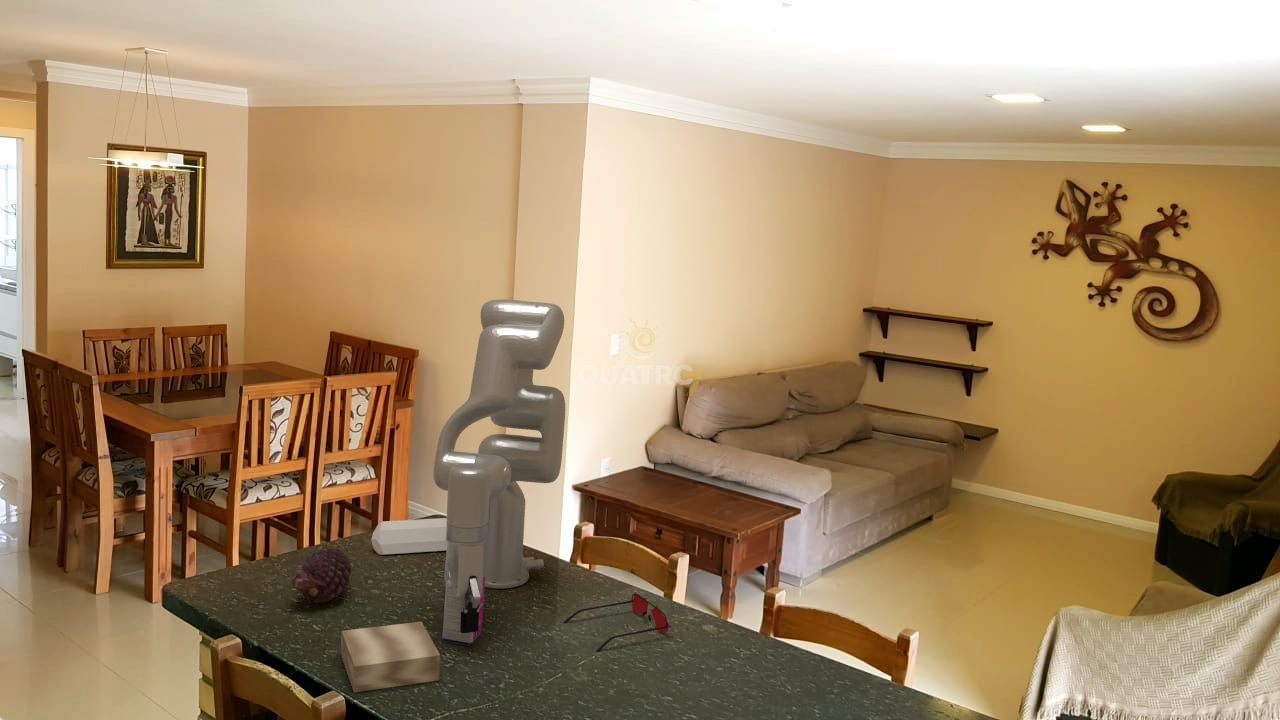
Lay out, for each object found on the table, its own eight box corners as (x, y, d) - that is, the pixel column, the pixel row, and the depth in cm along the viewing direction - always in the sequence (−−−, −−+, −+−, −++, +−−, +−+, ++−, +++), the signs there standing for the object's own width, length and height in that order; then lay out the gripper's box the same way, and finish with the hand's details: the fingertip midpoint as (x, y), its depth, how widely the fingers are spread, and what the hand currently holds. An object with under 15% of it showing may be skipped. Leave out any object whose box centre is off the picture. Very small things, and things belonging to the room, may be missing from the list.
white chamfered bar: (471, 522, 238) (368, 527, 229) (478, 515, 232) (372, 521, 223) (473, 553, 236) (369, 560, 227) (480, 547, 230) (373, 554, 220)
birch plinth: (420, 645, 180) (421, 621, 180) (439, 680, 168) (440, 655, 167) (340, 655, 174) (341, 630, 174) (354, 692, 162) (354, 666, 161)
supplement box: (471, 646, 181) (474, 586, 179) (441, 641, 182) (443, 582, 181) (483, 633, 187) (485, 575, 185) (453, 628, 188) (455, 571, 186)
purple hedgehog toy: (325, 578, 207) (326, 532, 206) (369, 585, 206) (371, 539, 204) (279, 611, 190) (280, 561, 189) (327, 618, 189) (328, 568, 187)
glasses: (671, 639, 191) (673, 614, 190) (596, 654, 183) (597, 628, 182) (634, 611, 203) (636, 588, 202) (562, 624, 194) (563, 600, 193)
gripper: (435, 518, 188) (431, 606, 190) (459, 549, 172) (454, 645, 175) (474, 515, 191) (470, 602, 194) (500, 545, 175) (496, 639, 178)
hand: (463, 621), depth 184 cm, fingers closed on supplement box, 7 cm apart
